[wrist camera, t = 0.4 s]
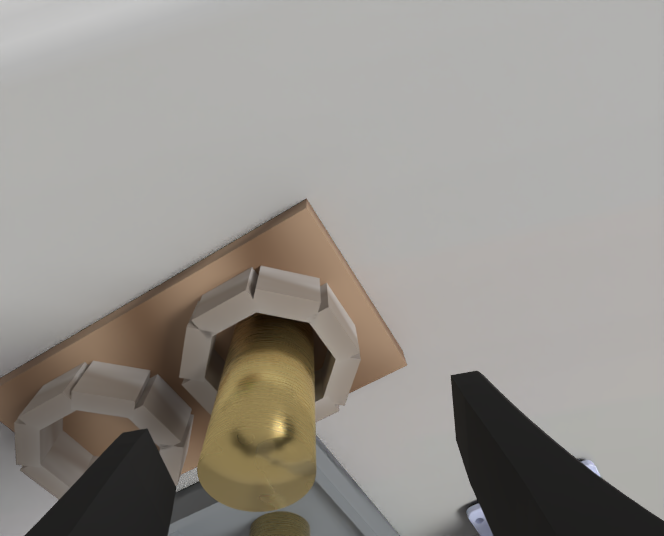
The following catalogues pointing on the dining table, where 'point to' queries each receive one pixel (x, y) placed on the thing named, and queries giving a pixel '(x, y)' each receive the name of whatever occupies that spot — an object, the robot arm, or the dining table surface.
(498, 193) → the dining table surface
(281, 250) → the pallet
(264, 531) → the cylinder
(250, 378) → the cylinder
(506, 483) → the robot arm
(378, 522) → the grey square tray
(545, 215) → the dining table surface
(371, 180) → the dining table surface
